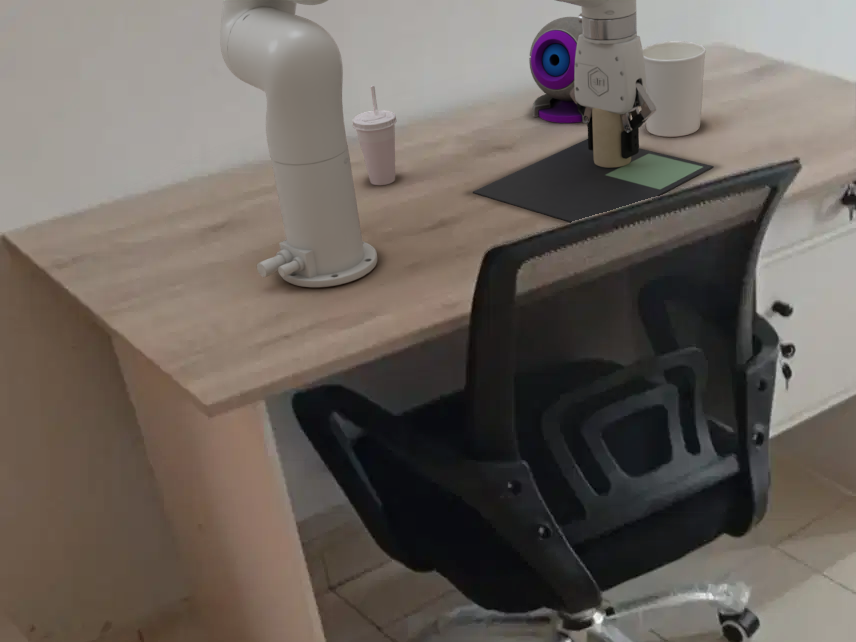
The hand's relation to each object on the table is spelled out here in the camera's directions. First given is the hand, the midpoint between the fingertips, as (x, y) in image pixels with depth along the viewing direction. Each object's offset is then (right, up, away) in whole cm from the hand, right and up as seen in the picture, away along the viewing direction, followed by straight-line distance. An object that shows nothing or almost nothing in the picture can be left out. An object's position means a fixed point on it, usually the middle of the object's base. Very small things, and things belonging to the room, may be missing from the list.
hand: (613, 150), depth 182 cm
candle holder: (+10, +6, +11) cm, 16 cm away
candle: (0, -2, +1) cm, 2 cm away
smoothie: (-34, -4, +3) cm, 34 cm away
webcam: (-5, +11, +22) cm, 25 cm away
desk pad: (-3, -5, -4) cm, 7 cm away
